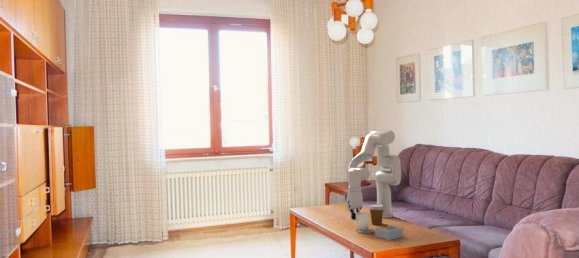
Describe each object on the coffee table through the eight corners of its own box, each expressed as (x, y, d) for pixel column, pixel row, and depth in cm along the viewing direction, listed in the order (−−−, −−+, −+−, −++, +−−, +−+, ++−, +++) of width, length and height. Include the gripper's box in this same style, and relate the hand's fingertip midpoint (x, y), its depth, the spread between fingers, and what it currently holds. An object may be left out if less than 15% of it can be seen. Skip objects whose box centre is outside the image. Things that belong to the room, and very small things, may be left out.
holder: (389, 232, 257) (388, 224, 257) (402, 236, 249) (402, 227, 249) (375, 236, 251) (375, 227, 251) (388, 240, 242) (388, 231, 242)
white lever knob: (370, 229, 263) (371, 215, 262) (363, 231, 260) (364, 217, 258) (355, 222, 274) (356, 208, 273) (347, 224, 270) (349, 210, 269)
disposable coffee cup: (373, 226, 273) (372, 207, 273) (366, 223, 283) (366, 204, 282) (387, 224, 276) (386, 206, 276) (380, 221, 285) (379, 203, 285)
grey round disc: (365, 228, 269) (365, 227, 269) (377, 231, 261) (377, 230, 261) (353, 231, 264) (353, 230, 264) (365, 234, 256) (365, 233, 256)
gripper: (359, 187, 276) (360, 215, 277) (340, 190, 267) (341, 219, 268) (368, 188, 270) (369, 217, 271) (349, 191, 261) (349, 221, 261)
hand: (355, 218), depth 269 cm, fingers closed on white lever knob, 2 cm apart
